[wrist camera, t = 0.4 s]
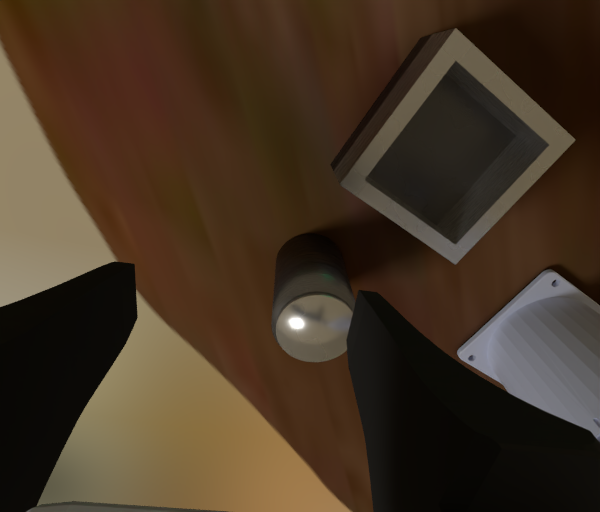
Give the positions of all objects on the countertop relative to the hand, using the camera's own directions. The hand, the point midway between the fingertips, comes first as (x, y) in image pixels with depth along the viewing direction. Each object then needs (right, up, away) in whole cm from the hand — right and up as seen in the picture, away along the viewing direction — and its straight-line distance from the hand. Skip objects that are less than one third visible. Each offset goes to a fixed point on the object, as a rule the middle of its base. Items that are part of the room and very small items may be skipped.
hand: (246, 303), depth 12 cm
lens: (+2, +1, +10) cm, 10 cm away
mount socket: (+8, +7, +7) cm, 13 cm away
